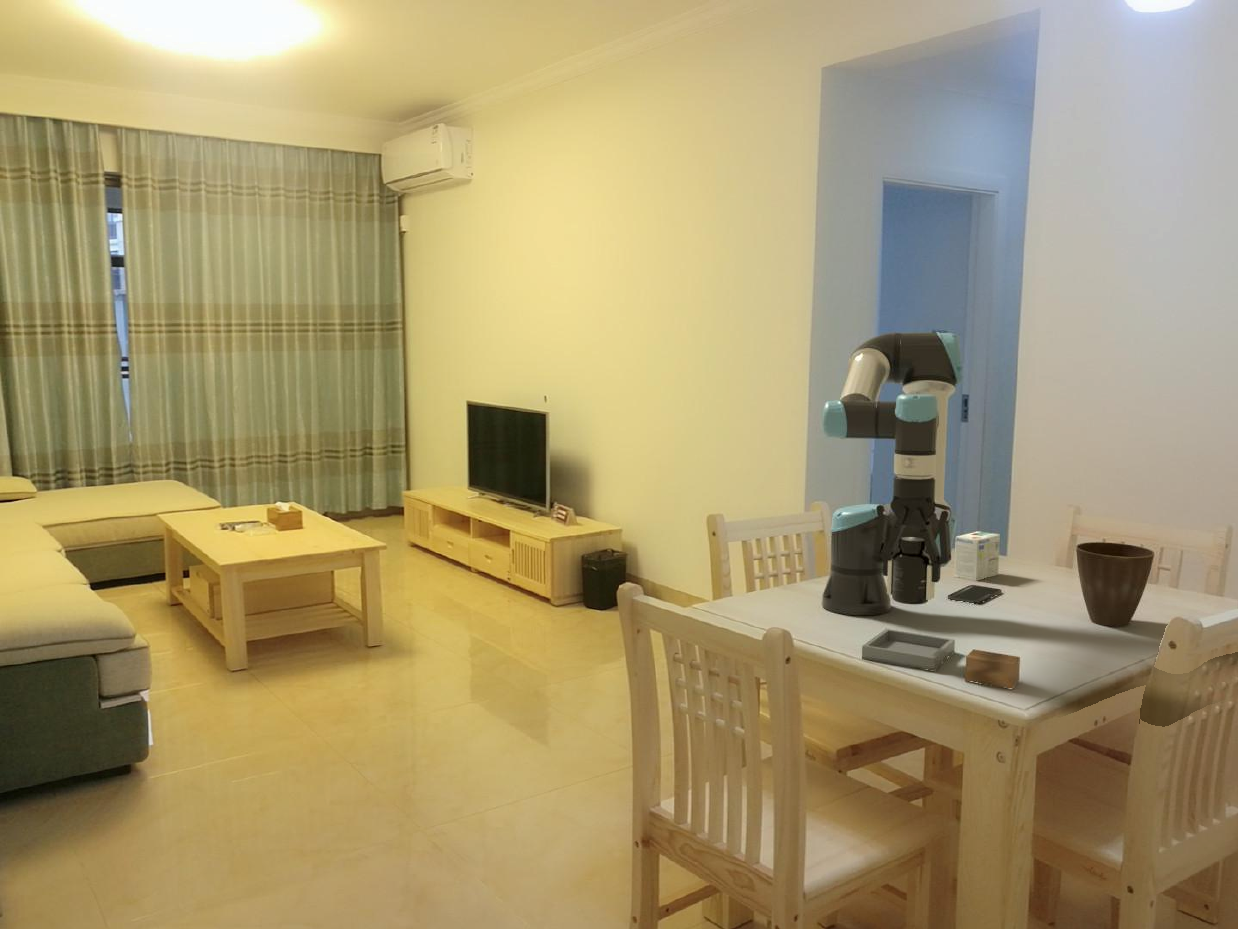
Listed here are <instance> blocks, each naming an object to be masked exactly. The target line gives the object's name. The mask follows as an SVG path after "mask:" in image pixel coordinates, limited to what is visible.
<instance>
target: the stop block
mask: <svg viewBox="0 0 1238 929" xmlns="http://www.w3.org/2000/svg"><path fill="white" fill-rule="evenodd" d="M1020 665H1021V657H1020V656H1017V655H1011V654H1010V655H1009V654H1005V653H1004V654H1003V653H999V652H998V653H997V652H992V651H986V650H979V649H972V650H971V651H970V652H969V653H968V654H967V655H966V656H965V674H964V675H965V676H964V681H965V682H967V681H973V682H978V683H981V684H980V685H983V684H987V685H986V686H989V685H992V686H991V687H994V686H996V688H1000V687H1006V688H1012V689H1014V688H1015V687H1016V686H1017V685H1018V683H1019V682H1020ZM1018 681H1019V682H1018ZM1017 682H1018V683H1017ZM978 683H977V684H978ZM1016 684H1017V685H1016ZM1015 685H1016V686H1015ZM1014 686H1015V687H1014ZM1013 687H1014V688H1013Z"/></svg>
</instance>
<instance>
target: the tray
mask: <svg viewBox="0 0 1238 929" xmlns="http://www.w3.org/2000/svg"><path fill="white" fill-rule="evenodd" d="M955 641H956V639H953V638H946V637H941V636H934V635H928V634H921V633H915V632H911V631H910V632H909V631H903V630H897V629H890V628H885V629H884V630H883V631H880V632H879V633H878V634H877V635H875V636H874V637H873V638H871V639H869V640H868V641H867V642H866V643H864V644H863V645H862V646H861V647H862V648H861V649H862V650H861V659H863V660H868V661H874V662H879V663H884V664H890V665H895V664H896V666H900V665H901V666H902V667H906V666H908V668H912V667H913V669H917V668H919V669H918V670H923V669H928V670H933V671H932V672H935V671H934V670H935V669H936V668H937V667H938V666H939V665H940V664H941V663H942V662H943V663H945V661H947V660H948V659H947V657H948V656H950V655H951V654H952V653H953V652H954V653H955V646H956V645H955V643H956V642H955ZM954 653H953V654H954ZM953 654H952V655H953ZM952 655H951V656H952ZM951 656H950V657H951ZM943 663H942V664H943ZM942 664H941V665H942ZM941 665H940V666H941ZM940 666H939V667H940ZM939 667H938V668H939ZM938 668H937V669H938ZM937 669H936V670H937ZM928 670H927V671H928Z"/></svg>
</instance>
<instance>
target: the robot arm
mask: <svg viewBox="0 0 1238 929" xmlns="http://www.w3.org/2000/svg"><path fill="white" fill-rule="evenodd" d="M961 355H962V354H961V348H960V341H959V337H958V335H956V334H954V333H950V332H939V331H935V332H889V333H888V332H887V333H883V334H879V335H876V336H875V337H872V338H870V339H868V340H867V341H865V342H863V343H862V344H860V345H858V347H856V349H855V350H853V352H852V354H850V357H849V358H848V362H847V365H846V372H847V377H846V380H845V384H844V386H843V390H842V392H841V395H840V398H839V399H836V400H829V401H826V402H825V404H824V407H823V413H822V415H823V416H822V428H823V433H824V435H825V436H826V437H828V438H836V439H841V440H845V439H851V440H852V439H853V440H854V439H858V440H859V439H863V440H864V439H866V440H871V439H872V440H894V455H893V457H894V458H893V459H894V460H893V473H894V474H895V475H896V476H894V477H893V486H892V487H893V492H892V495H893V496H892V500H891V502H890V503H886V504H885V503H882V504H879V503H878V504H875V503H865V504H864V503H863V504H854V505H848V506H844V507H840V508H838V509H836V510H835V511H834V512H833V514H832V519H831V528H830V532H831V541H830V542H831V544H830V545H831V546H830V549H831V550H830V574H829V576H828V578H827V582H826V585H825V587H824V590H823V593H822V597H821V605H822V608H824V609H825V610H827V611H830V612H834V613H836V614H843V615H851V616H877V615H882V614H886V613H888V612H890V611H891V597H890V595H891V596H892V578H893V557H894V555H895V553H897V552H898V551H900V548H899V539H900V538H902V537H917V538H922V539H924V542H925V545H926V549H925V550H924V552H925V553H926V554H928V555H929V557H930V564H929V565H928V566H927V586H926V600H928V601H931V600H932V599H934V598H935V589H936V588H935V587H936V586H935V585H936V583H938V582H940V579H941V568H943V567H946V566H947V565H948V564H949V562H950V561H951V560H952V551H953V546H954V545H953V544H954V539H955V533H956V527H957V519H958V517H957V515H954V514H952V510H951V506H950V505H949V503H948V502H946V501H945V498H944V497H945V478H946V477H945V476H946V475H945V474H946V452H947V451H946V449H947V431H948V430H947V428H948V409H949V408H948V405H949V398H950V396H952V395H953V394H954V393H955V392H956V385H959V384H962V383H963V369H962V357H961ZM885 383H886V384H887V383H888V384H902V391H903V393H902V394H899V395H898V396H897V397H896V401H881V400H880V401H879V398H880V397H879V396H880V393H881V389H882V385H883V384H885ZM885 577H887V582H886V581H885Z"/></svg>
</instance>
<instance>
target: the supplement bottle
mask: <svg viewBox="0 0 1238 929" xmlns="http://www.w3.org/2000/svg"><path fill="white" fill-rule="evenodd" d="M899 548H900V551H898V552H897V553H895V555H894V557H893V578H892V594H891V597H892V600H893V601H894V602H897V603H900V604H903V605H904V604H905V605H924V604H926V603H928V602H929V600H926V586H927V566H928V565H929V564H930V557H929V555H928V554H926V553H925V552H924V550H925V549H926V545H925V542H924V539H922V538H917V537H902V538H900V539H899Z"/></svg>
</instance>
